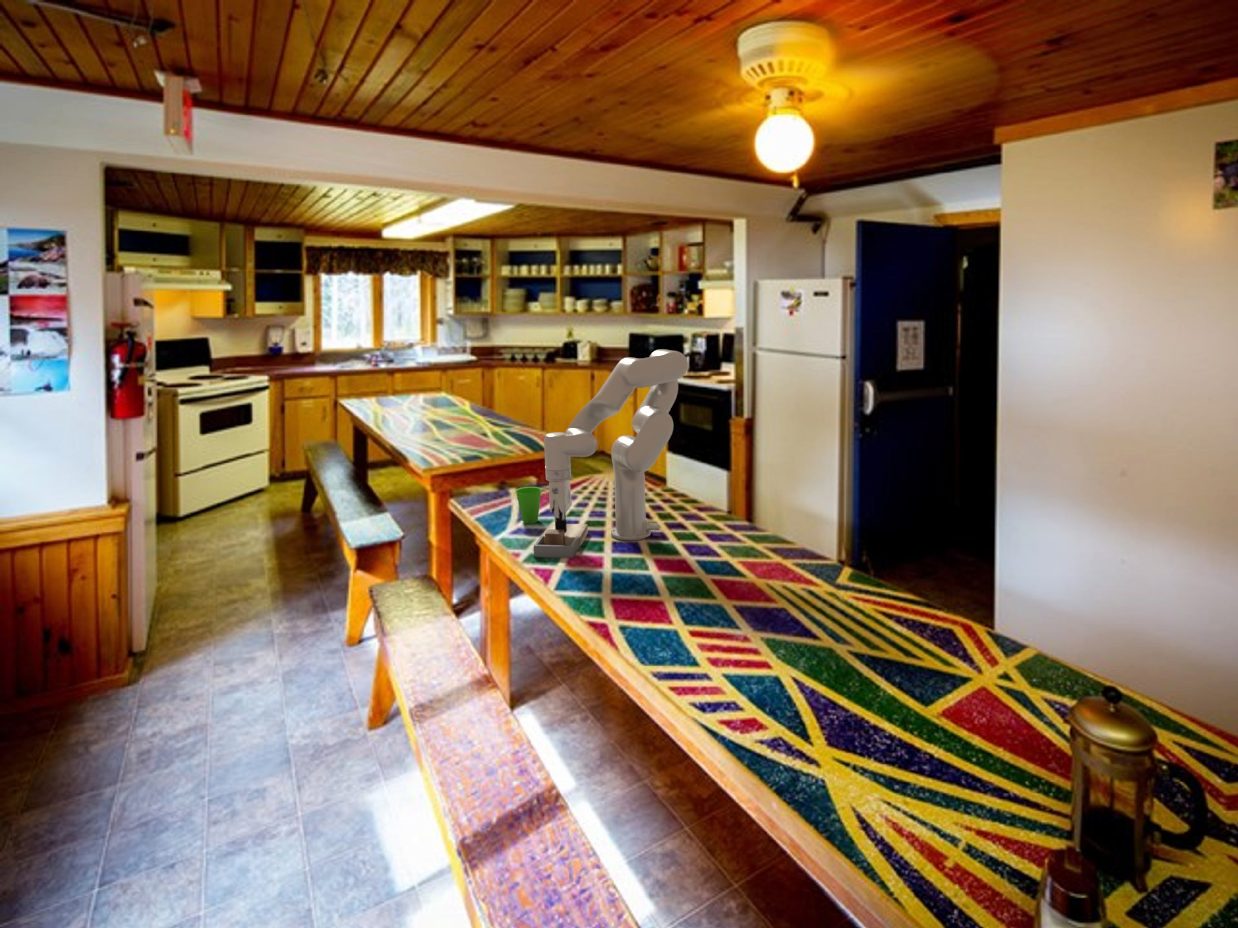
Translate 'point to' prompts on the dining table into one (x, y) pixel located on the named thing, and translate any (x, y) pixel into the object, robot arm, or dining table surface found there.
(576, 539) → the bin
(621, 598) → the dining table surface
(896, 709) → the dining table surface
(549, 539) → the block
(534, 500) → the cup
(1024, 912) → the dining table surface
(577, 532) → the board
